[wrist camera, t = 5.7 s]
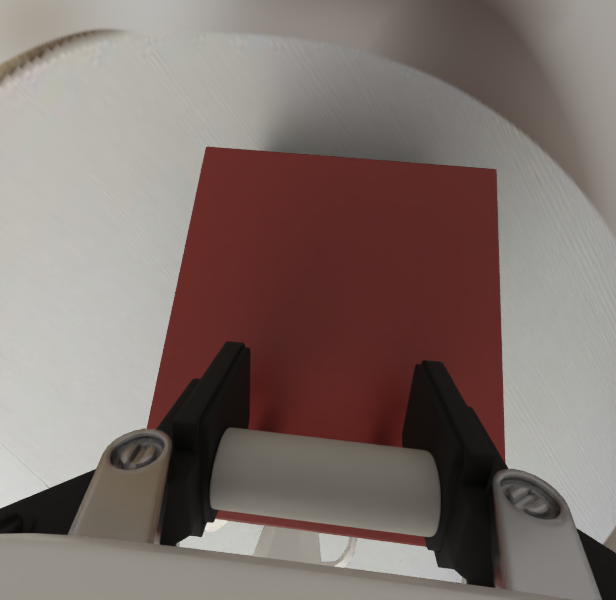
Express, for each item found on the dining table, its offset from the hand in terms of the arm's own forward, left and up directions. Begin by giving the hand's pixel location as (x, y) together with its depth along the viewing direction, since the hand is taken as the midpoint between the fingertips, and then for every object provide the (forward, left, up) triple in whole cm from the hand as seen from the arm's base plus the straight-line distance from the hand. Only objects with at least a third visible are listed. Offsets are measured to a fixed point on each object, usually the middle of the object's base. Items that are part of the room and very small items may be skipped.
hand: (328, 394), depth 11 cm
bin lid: (-1, -1, -4) cm, 4 cm away
